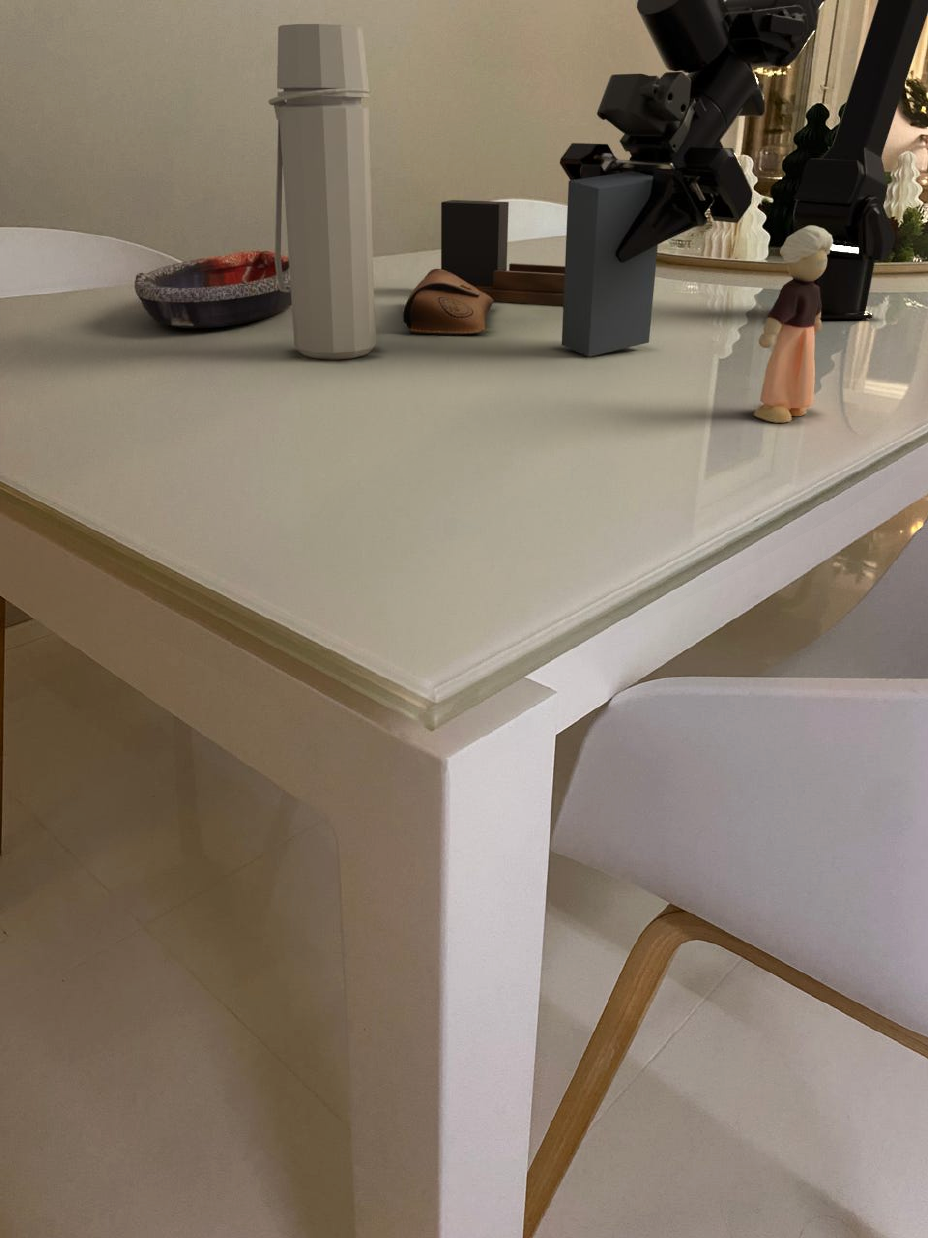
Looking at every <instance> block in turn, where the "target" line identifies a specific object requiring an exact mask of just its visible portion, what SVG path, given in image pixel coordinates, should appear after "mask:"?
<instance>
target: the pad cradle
mask: <svg viewBox="0 0 928 1238" xmlns="http://www.w3.org/2000/svg"><path fill="white" fill-rule="evenodd" d="M509 205H510V204H509V201H493V200H492V201H491V200H470V199H469V200H467V199H466V200H465V199H450V200H444V201H441V202H440V269H442V270H445V271H448V272H450V273H452V274H454V275H456V276H458V277H459V278H461V279H462V280H464V281H465V282H467V283H468V284H470V285H472V286H474V287H475V288H476V289H477V290H479V291H482V292H484V293H485V294H487V295H489V296H490V297H491V298H492V299H493V301H494V302H499V303H514V304H527V305H530V304H531V305H543V306H544V305H546V306H558V307H559V306H562V307H563V302H564V279H565V265H555V264H554V265H552V264H551V265H550V264H533V263H517V262H516V263H515V262H511V263H509V264H508V240H509V239H508V238H509V237H508V236H509ZM507 267H508V268H507Z"/></svg>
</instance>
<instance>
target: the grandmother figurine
mask: <svg viewBox="0 0 928 1238" xmlns="http://www.w3.org/2000/svg"><path fill="white" fill-rule="evenodd" d="M833 245H834V242H833V239H832V236H831V235H830V234H829V233H828V232H827V231H826V230H825V229H823V228H820V227H817V226H807V227H804V228H803V229H800V230H798V231H797V232H794V233H792V234H790V235H788V236H787V237H786V239H785V241H784V243H783V245H782V246H781V247H780V250H779V254H780V255H781V257H782V258H783V260H784V262H785V263H786V267H787V272H788V274H789V276H790V277H791V278H792V279H790V280H789V281H788V282H786V283H784V284H783V286H782V287H781V289H780V292H779V294H778V297H777V299H776V300H775V301H774V304H773V306H772V308H771V309H770V311H769V313H768V315H767V318H766V319H767V320H766V322H765V324H764V326H763V333H761V334H760V336H759V338H758V344H759V346H760V347H761V348H763V349H770V348H771V347H773V349H772V352H771V354H770V356H769V359H768V361H767V364H766V368H765V373H764V379H763V383H762V388H761V392H760V399H759V402H760V403H762V405H761V406H759V407H757V408H756V410H755V411H754V413H753V416H754V417H756V418H758V419H761V420H764V421H767V422H771V423H778V424H779V423H781V424H782V423H789V422H791V421H792V419H793V418H792V417H801V416H805V415H807V408H810V407H812V406H813V405H814V395H815V375H816V374H815V373H816V372H815V371H816V369H815V367H816V366H815V365H816V364H815V333H816V332H819V331H820V330H821V329H822V325H823V322H822V319H820V318H821V308H822V305H821V298H820V287H819V286H818V285H815V284H814V282H813V281H814V280H816V279H817V278H819V277H820V276H821V275H822V274H823V272H824V271H825V269H826V266H827V254H829V253H830V250H831V249H832V247H833ZM775 342H776V343H775ZM774 344H775V345H774Z"/></svg>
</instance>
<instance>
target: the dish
mask: <svg viewBox="0 0 928 1238" xmlns="http://www.w3.org/2000/svg"><path fill="white" fill-rule="evenodd" d="M281 265H282V273H283V279H284V283H285V286H286V289H289V287H290V270H289V256H288V255H284V254H281ZM134 290H135V293H136V296H137V297H138V298H139V300H140V302H141V303H142V307H143V308H144V310H145V311H146V312H147V314H148V315H149V316H150V317H151V318H152V319H153V320H154V321H155V322H157V323H160V324H163V325H167V326H170V327H174V328H180V329H212V328H213V329H215V328H221V327H223V328H224V327H230V326H236V325H241V324H246V323H251V322H255V321H259V320H263V319H266V318H269V317H272V316H274V315H277V314H279V313H281V312H282V311H284V310H286V309H288V308H289V307H290V306H292V302H291V292H282V291H280V288H279V284H278V280H277V274H276V266H275V251H274V252H273V251H270V250H263V251H262V250H247V251H239V252H234V253H230V254H224V255H217V256H210V257H209V256H208V257H203V258H196V259H191V260H185V261H182V262H177V263H173V264H170V265H166V266H162V267H158V268H155V269H154V270H151V271H148V272H139V273H137V274H136V275H135V279H134Z"/></svg>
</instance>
